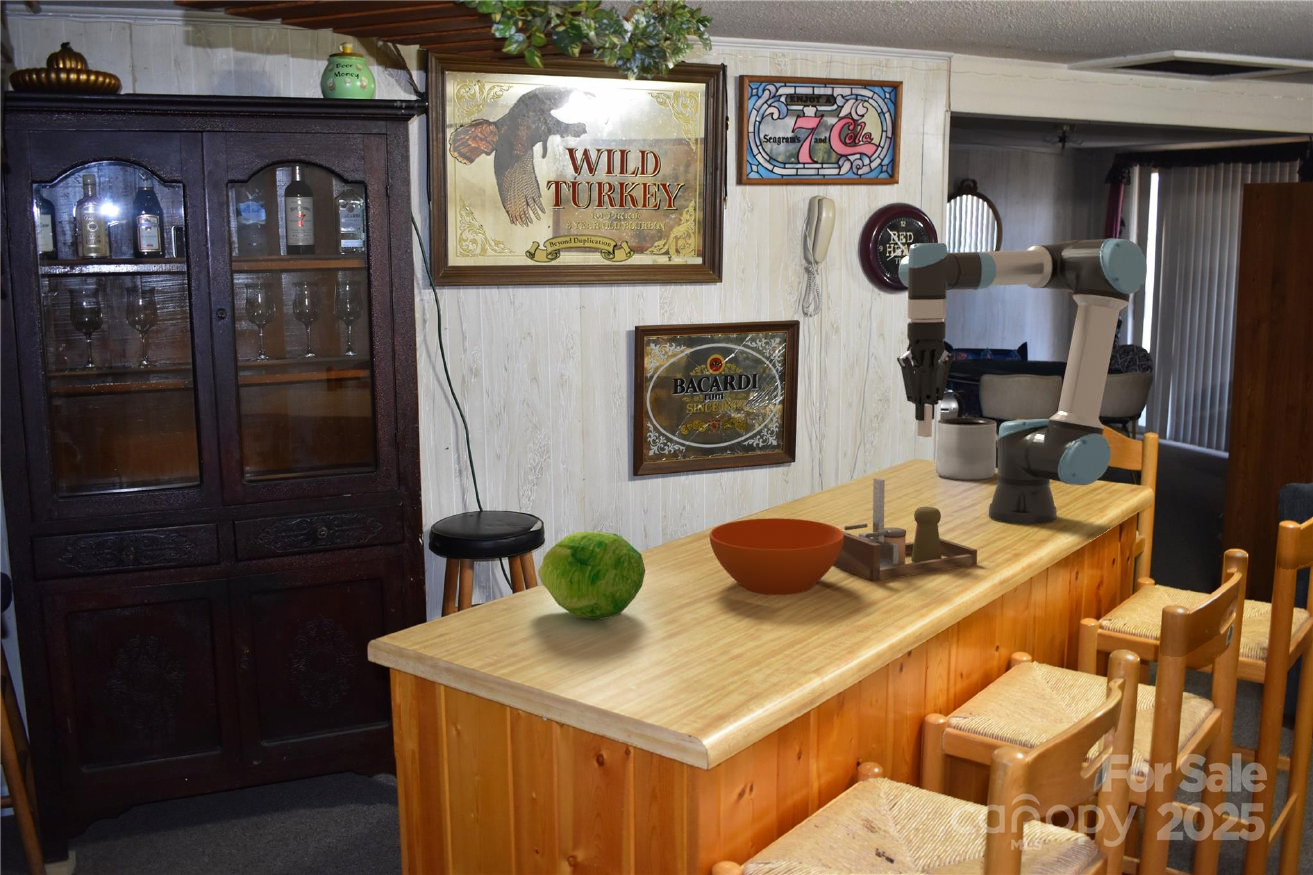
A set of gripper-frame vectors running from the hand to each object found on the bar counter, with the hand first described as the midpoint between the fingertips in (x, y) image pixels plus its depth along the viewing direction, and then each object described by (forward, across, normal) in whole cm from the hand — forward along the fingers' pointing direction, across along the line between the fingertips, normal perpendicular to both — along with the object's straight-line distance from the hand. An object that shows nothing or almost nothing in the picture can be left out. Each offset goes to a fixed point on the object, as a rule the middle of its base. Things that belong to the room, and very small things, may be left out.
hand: (924, 436), depth 235 cm
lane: (+24, +10, +6) cm, 27 cm away
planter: (+25, -63, -61) cm, 91 cm away
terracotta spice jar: (+24, +12, +6) cm, 28 cm away
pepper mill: (+25, +4, +6) cm, 26 cm away
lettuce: (+25, +77, +6) cm, 81 cm away
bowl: (+25, +39, +6) cm, 47 cm away
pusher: (+24, +16, +6) cm, 29 cm away
